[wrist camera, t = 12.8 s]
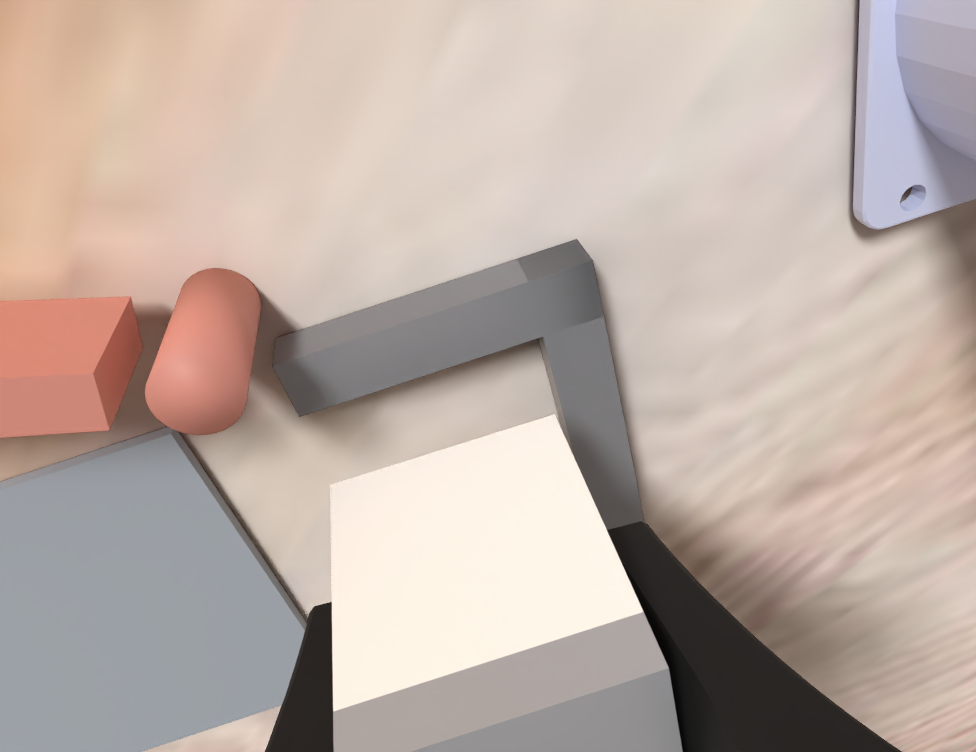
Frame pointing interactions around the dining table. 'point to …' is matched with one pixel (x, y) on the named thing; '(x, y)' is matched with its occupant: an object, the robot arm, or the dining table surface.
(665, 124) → the dining table surface
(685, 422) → the dining table surface
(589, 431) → the bracket
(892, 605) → the dining table surface
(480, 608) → the plug
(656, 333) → the dining table surface
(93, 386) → the pink flat bar
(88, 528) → the slate mat
